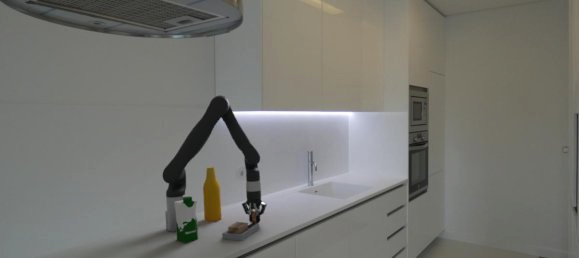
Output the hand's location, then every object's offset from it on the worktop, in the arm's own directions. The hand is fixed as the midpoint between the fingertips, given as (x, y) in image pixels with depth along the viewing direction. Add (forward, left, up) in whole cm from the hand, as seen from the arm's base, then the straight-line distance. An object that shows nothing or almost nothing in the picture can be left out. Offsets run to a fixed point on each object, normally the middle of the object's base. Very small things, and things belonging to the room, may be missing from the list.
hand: (254, 222), depth 185 cm
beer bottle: (-27, +3, -1) cm, 27 cm away
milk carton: (-21, -28, -1) cm, 35 cm away
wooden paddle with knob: (0, -10, -1) cm, 10 cm away
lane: (0, -14, -1) cm, 14 cm away
